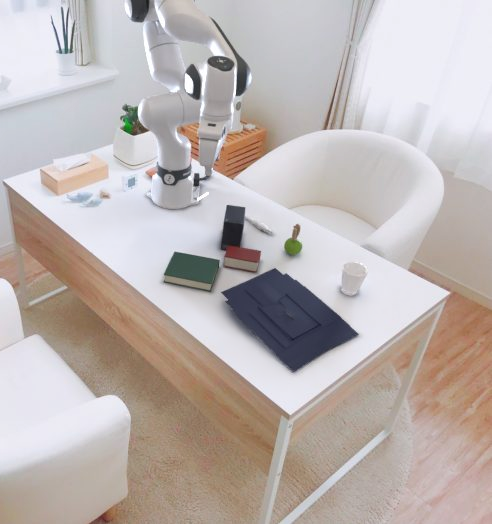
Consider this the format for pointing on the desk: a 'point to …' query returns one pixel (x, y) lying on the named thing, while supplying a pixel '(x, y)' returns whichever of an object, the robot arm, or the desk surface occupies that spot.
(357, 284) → the cup
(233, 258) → the pocket dictionary
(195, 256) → the hardcover book
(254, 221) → the stylus pen
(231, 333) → the desk surface
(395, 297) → the desk surface
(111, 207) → the desk surface
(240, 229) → the small box
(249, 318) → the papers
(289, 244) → the snail figurine
